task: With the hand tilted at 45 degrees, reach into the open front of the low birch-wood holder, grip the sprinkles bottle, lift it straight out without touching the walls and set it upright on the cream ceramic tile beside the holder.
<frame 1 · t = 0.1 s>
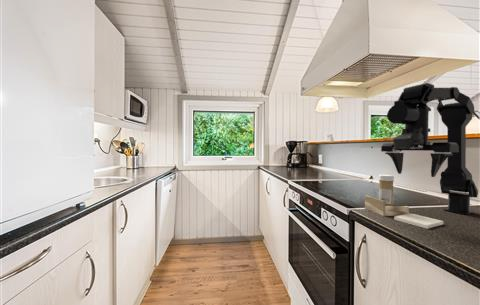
hand: (415, 175, 70), 15 cm above the countertop, tool pointing down, fingers open, 9 cm apart
bottle holder: (385, 211, 82), on the countertop
cream tile: (418, 221, 70), on the countertop
sprinkles bottle: (385, 212, 82), on the countertop
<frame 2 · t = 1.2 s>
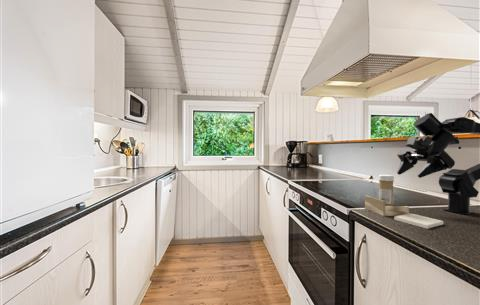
hand: (407, 175, 82), 13 cm above the countertop, tool tilted 45°, fingers open, 9 cm apart
nothing on the countertop moved.
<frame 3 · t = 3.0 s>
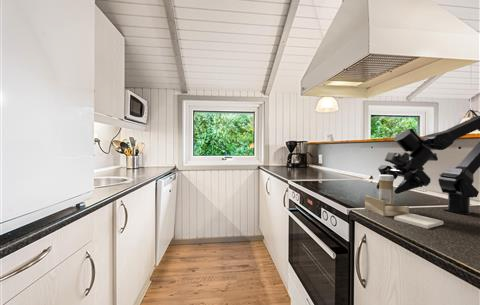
hand: (385, 190, 81), 8 cm above the countertop, tool tilted 45°, fingers open, 9 cm apart
nothing on the countertop moved.
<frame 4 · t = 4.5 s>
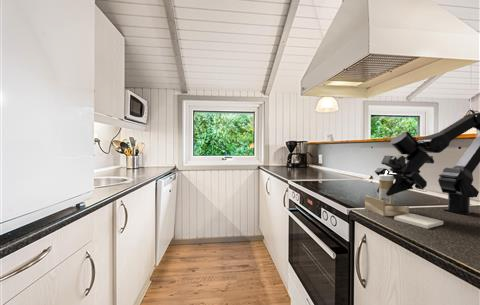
hand: (382, 193, 81), 7 cm above the countertop, tool tilted 45°, fingers closed on sprinkles bottle, 4 cm apart
sprinkles bottle: (385, 212, 82), on the countertop, touching gripper
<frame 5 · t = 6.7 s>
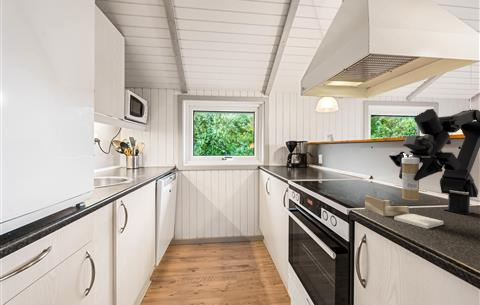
hand: (407, 178, 72), 13 cm above the countertop, tool tilted 45°, fingers closed on sprinkles bottle, 4 cm apart
sprinkles bottle: (410, 199, 72), point 6 cm above the countertop, touching gripper
when the fingers open (9 cm above the countertop, at t = 8.7 s): sprinkles bottle drops 1 cm, resting on cream tile.
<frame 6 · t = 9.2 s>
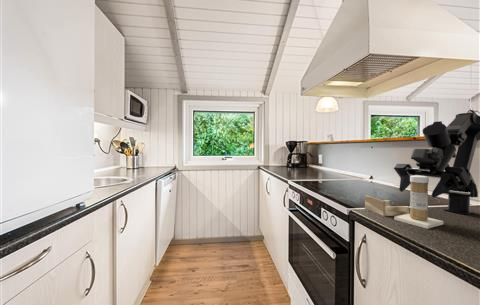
hand: (415, 193, 69), 9 cm above the countertop, tool tilted 45°, fingers open, 9 cm apart
sprinkles bottle: (418, 219, 70), point 1 cm above the countertop, touching cream tile
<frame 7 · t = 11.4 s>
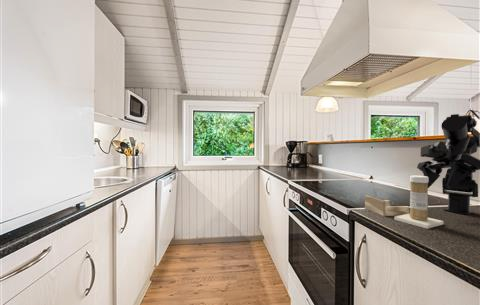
hand: (436, 187, 74), 10 cm above the countertop, tool tilted 30°, fingers open, 9 cm apart
nothing on the countertop moved.
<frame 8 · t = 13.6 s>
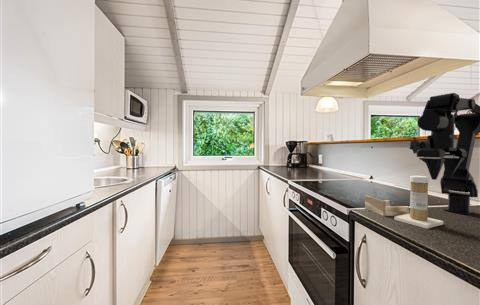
hand: (441, 178, 75), 13 cm above the countertop, tool pointing down, fingers open, 9 cm apart
nothing on the countertop moved.
at the end: sprinkles bottle 0.2 cm off-centre on the cream tile, point 0.8 cm above the cream tile's base; sprinkles bottle tilted 0°; the gripper is holding nothing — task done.
